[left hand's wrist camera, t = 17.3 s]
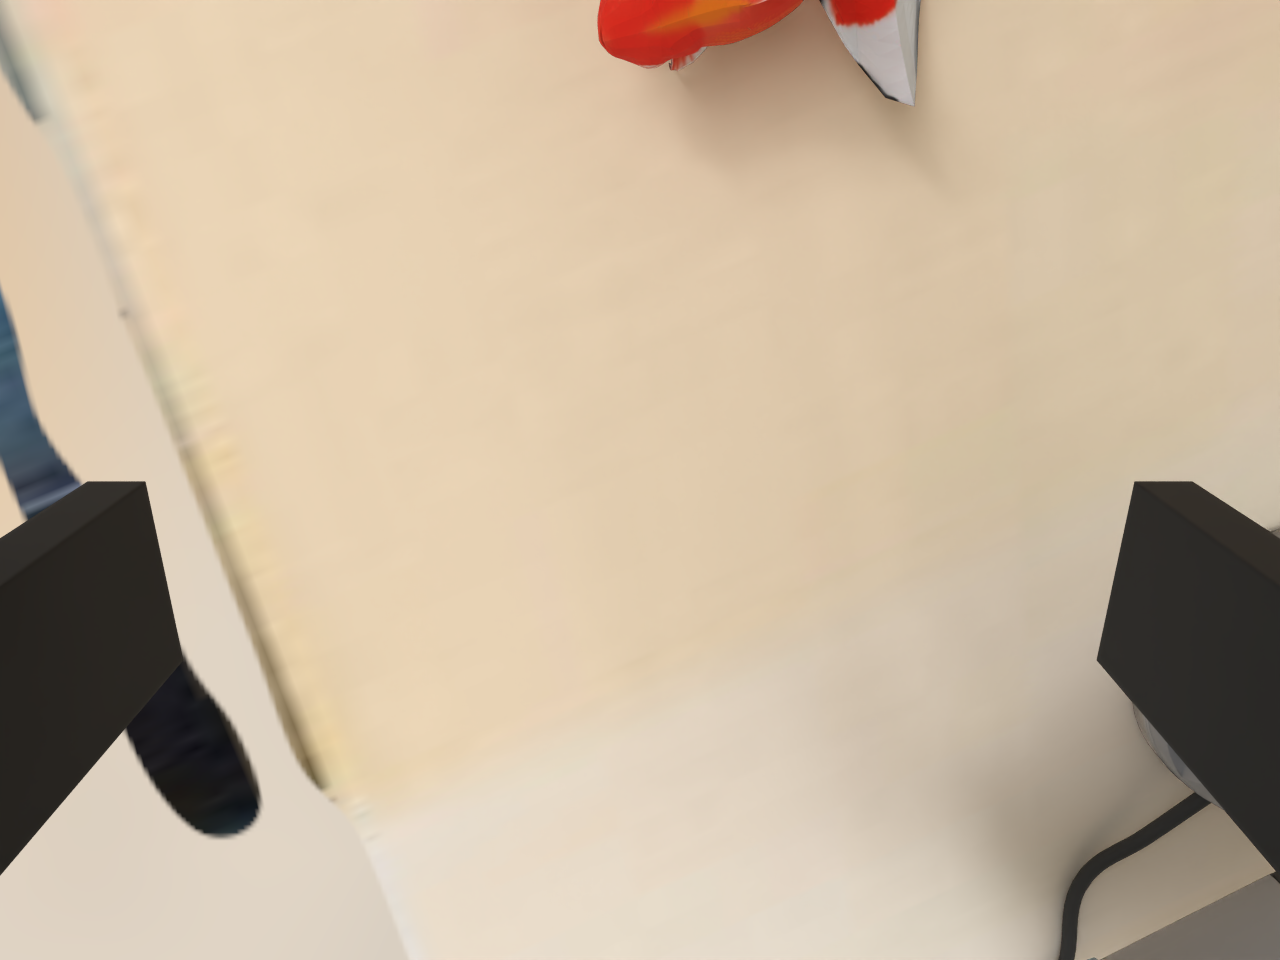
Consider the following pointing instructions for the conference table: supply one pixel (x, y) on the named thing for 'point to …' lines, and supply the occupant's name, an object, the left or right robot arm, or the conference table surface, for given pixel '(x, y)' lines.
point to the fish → (749, 3)
